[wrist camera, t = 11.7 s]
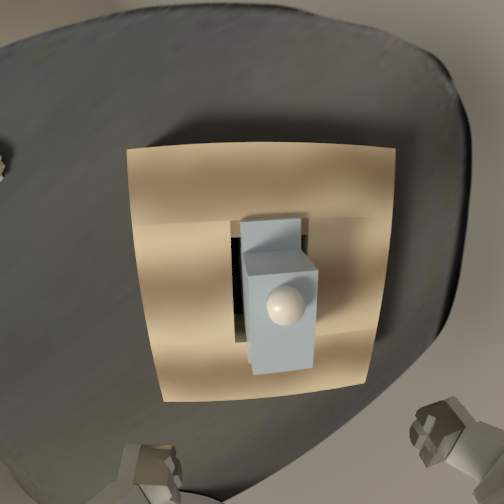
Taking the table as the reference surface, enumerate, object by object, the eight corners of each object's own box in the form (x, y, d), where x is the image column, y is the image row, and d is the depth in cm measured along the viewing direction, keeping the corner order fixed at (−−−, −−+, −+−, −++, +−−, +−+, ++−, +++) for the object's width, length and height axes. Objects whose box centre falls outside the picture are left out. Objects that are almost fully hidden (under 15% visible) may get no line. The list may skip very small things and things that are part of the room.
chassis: (348, 355, 27) (364, 382, 23) (168, 370, 26) (163, 401, 22) (368, 147, 22) (395, 148, 18) (142, 149, 20) (126, 149, 16)
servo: (285, 324, 25) (314, 398, 17) (243, 328, 25) (255, 406, 17) (284, 204, 22) (324, 238, 14) (235, 207, 22) (247, 244, 14)
